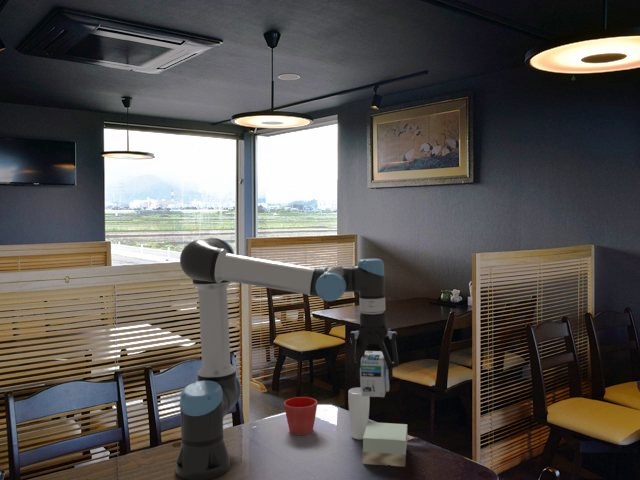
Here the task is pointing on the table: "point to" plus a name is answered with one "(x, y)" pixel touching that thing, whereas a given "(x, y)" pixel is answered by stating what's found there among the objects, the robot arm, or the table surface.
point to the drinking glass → (358, 412)
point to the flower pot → (300, 414)
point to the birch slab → (384, 459)
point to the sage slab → (385, 438)
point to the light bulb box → (373, 374)
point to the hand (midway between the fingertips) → (374, 389)
